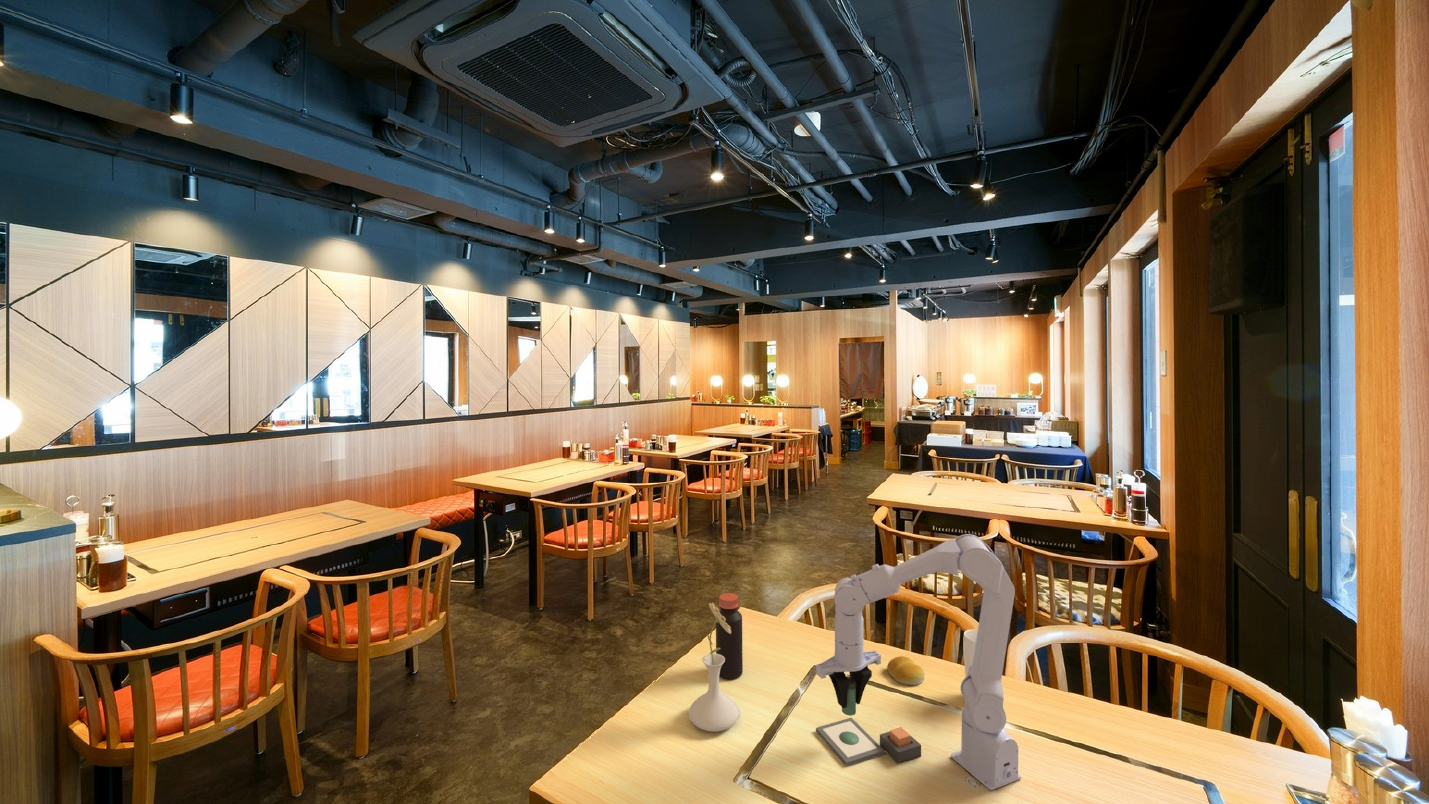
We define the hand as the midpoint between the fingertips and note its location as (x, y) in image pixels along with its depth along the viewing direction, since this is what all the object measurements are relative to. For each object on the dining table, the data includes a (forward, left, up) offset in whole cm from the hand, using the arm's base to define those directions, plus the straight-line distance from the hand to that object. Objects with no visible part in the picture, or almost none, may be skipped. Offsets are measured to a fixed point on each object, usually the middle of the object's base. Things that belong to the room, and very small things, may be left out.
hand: (849, 703), depth 108 cm
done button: (-6, -8, -6) cm, 12 cm away
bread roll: (+15, -28, -9) cm, 33 cm away
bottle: (+33, +13, -9) cm, 36 cm away
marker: (0, 0, -2) cm, 2 cm away
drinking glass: (+1, -37, -8) cm, 38 cm away
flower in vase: (+18, +23, -9) cm, 30 cm away
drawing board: (0, 0, -8) cm, 8 cm away
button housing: (-6, -8, -8) cm, 13 cm away
